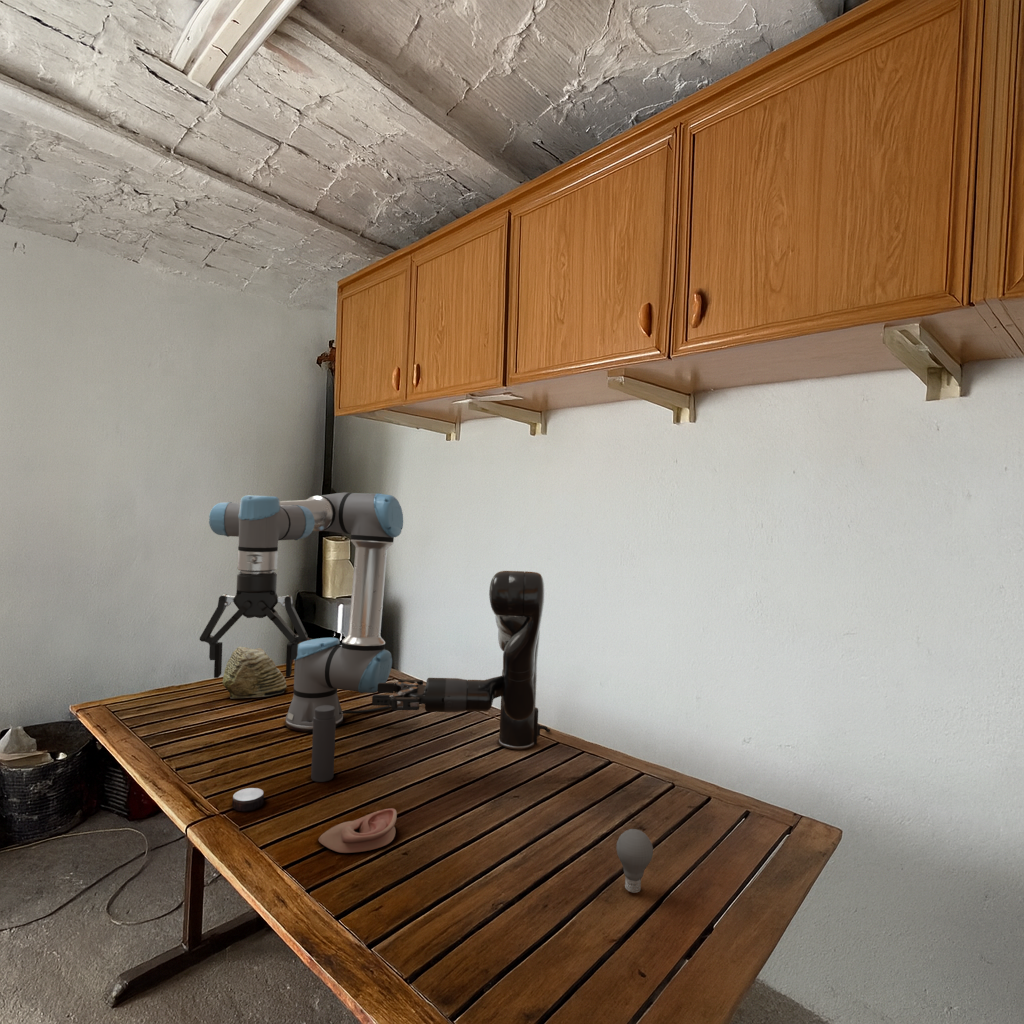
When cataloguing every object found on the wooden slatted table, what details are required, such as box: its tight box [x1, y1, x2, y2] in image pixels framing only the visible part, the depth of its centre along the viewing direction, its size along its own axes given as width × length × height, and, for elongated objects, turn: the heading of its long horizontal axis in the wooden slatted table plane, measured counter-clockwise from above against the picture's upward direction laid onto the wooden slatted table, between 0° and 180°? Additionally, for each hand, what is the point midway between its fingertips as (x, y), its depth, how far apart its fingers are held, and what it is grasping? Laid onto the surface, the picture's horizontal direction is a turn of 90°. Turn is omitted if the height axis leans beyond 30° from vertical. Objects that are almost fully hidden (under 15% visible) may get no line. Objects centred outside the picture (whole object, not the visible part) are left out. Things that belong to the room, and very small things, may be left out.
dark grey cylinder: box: [310, 705, 337, 783], centre depth 143 cm, size 5×5×16 cm
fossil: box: [222, 646, 288, 699], centre depth 198 cm, size 9×18×15 cm, turn 132°
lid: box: [231, 787, 265, 812], centre depth 129 cm, size 6×6×2 cm
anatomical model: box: [318, 807, 398, 854], centre depth 118 cm, size 13×4×12 cm
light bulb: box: [615, 828, 654, 894], centre depth 106 cm, size 6×6×10 cm
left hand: (253, 675), depth 129 cm, fingers open, 13 cm apart
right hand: (375, 693), depth 144 cm, fingers open, 8 cm apart
